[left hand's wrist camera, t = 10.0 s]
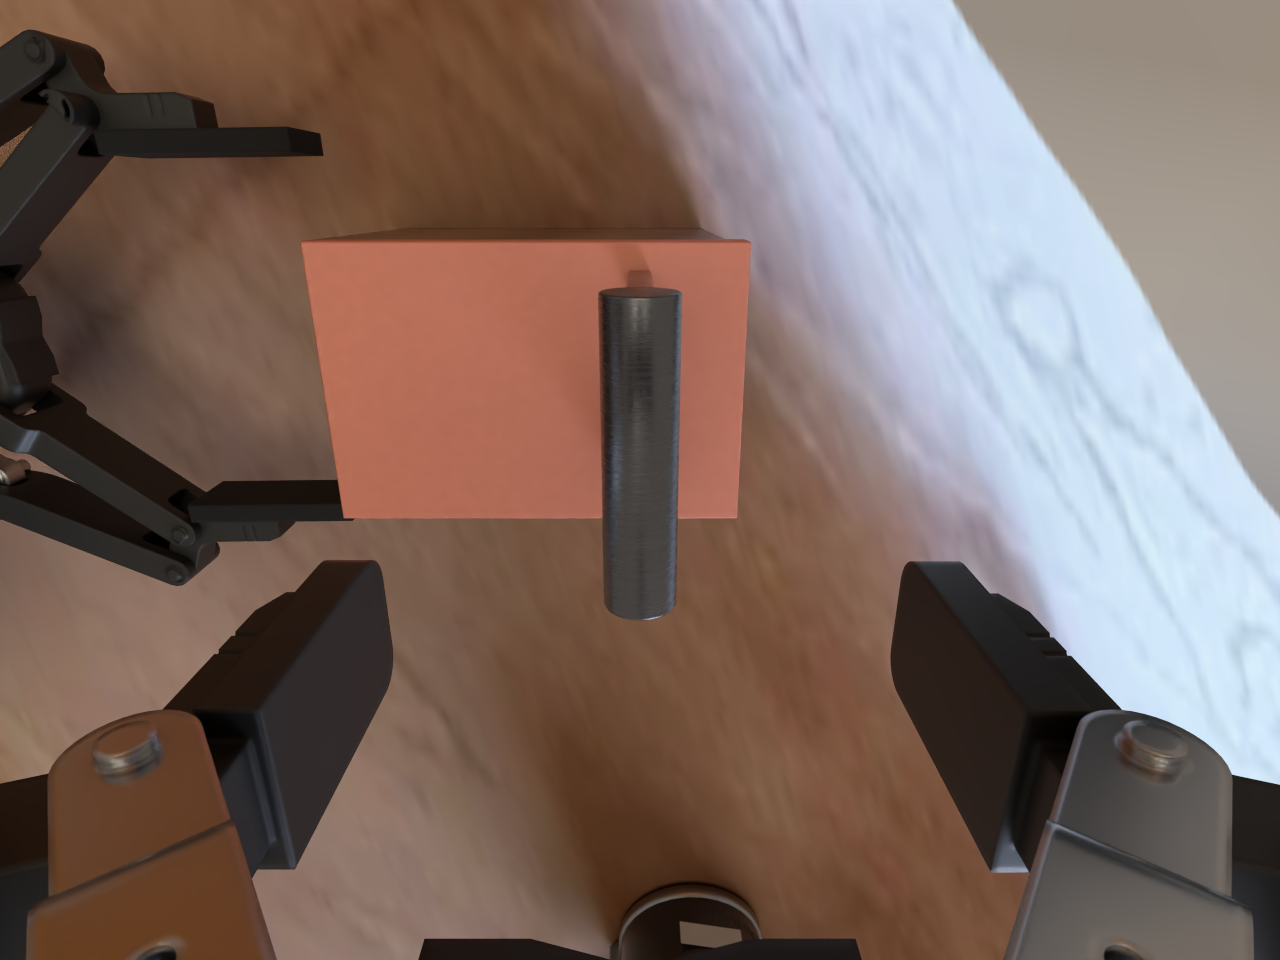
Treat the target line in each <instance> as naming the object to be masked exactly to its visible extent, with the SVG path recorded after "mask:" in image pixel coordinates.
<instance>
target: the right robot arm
mask: <svg viewBox="0 0 1280 960" xmlns="http://www.w3.org/2000/svg"><path fill="white" fill-rule="evenodd" d="M104 71H105V66H104V61H103V59H102V57H101V55H100V54H99V53H98V52H97V50H96V49H94V48H93V47H91V46H89V45H86V44H82V43H79V42H75V41H72V40H68V39H65V38H61V37H57V36H54V35H50V34H47V33H43V32H40V31H36V30H26V31H23V32H21V33H20V34H19V35H17V36H16V37H14V38H13V39H11V40H10V41H9V42H7V43H6V44H4V45H3V46H1V47H0V147H1V146H2V145H4V144H5V143H7V142H8V141H10V140H11V139H13V138H14V137H16V136H17V135H19V134H20V133H22V132H23V131H25V130H26V129H28V128H29V127H31V126H32V125H33V126H32V128H31V129H30V130H29V132H28V133H27V134H26V135H25V137H24V138H23V139H22V141H21V142H20V143H19V144H18V146H17V147H16V148H15V150H14V151H13V152H12V153H11V155H10V156H9V157H8V159H7V160H6V161H5V163H4V164H3V165H2V166H1V168H0V446H1V447H3V448H5V449H7V450H9V451H11V452H15V453H26V454H30V455H32V456H34V457H36V458H37V459H39V460H41V461H42V462H44V463H45V464H47V465H48V466H50V467H52V468H53V469H55V470H56V471H58V472H60V473H61V474H63V475H64V476H66V477H68V478H69V479H71V480H72V481H74V482H76V483H77V484H76V483H73V482H71V481H68V480H66V479H63V478H60V477H58V476H55V475H52V474H48V473H43V472H38V471H31V466H30V464H29V463H28V462H27V461H26V460H23V459H20V460H18V461H15V460H13V459H10V458H7V457H4V456H3V455H1V454H0V519H2V520H4V521H7V522H10V523H12V524H15V525H17V526H20V527H23V528H25V529H28V530H30V531H33V532H36V533H38V534H41V535H43V536H46V537H49V538H51V539H54V540H56V541H59V542H62V543H64V544H67V545H69V546H72V547H75V548H77V549H80V550H82V551H85V552H88V553H90V554H93V555H95V556H98V557H101V558H103V559H106V560H108V561H111V562H114V563H116V564H119V565H121V566H124V567H127V568H129V569H132V570H134V571H137V572H140V573H142V574H145V575H147V576H150V577H153V578H155V579H158V580H160V581H163V582H166V583H168V584H171V585H175V586H180V585H184V584H185V583H187V582H188V581H189V580H190V579H192V578H193V577H194V576H195V575H196V574H197V573H199V572H200V571H201V570H202V569H203V568H205V567H206V566H207V565H208V564H209V563H211V562H212V561H213V560H214V559H215V558H216V557H217V556H218V555H219V553H220V547H219V545H218V543H217V542H228V541H271V540H273V539H276V538H278V537H281V536H282V535H283V534H284V533H285V532H286V531H287V530H288V529H289V528H290V527H291V526H292V525H293V524H294V523H295V521H353V520H354V518H344V517H343V510H342V504H341V498H340V491H339V485H338V480H287V481H223V482H221V483H220V484H218V485H217V486H215V487H214V488H212V489H211V490H209V491H208V492H205V491H203V490H202V489H200V488H198V487H197V486H195V485H194V484H192V483H191V482H189V481H188V480H186V479H185V478H183V477H182V476H180V475H179V474H177V473H175V472H174V471H172V470H171V469H169V468H168V467H166V466H165V465H163V464H162V463H160V462H159V461H157V460H156V459H154V458H152V457H151V456H149V455H148V454H146V453H145V452H143V451H142V450H140V449H139V448H137V447H136V446H134V445H133V444H131V443H130V442H128V441H126V440H125V439H123V438H122V437H120V436H119V435H117V434H116V433H114V432H113V431H111V430H110V429H108V428H107V427H105V426H103V425H102V424H100V423H99V422H97V421H96V420H94V419H93V418H91V417H90V416H89V415H87V413H86V410H87V408H86V406H85V405H84V404H83V403H81V402H80V401H78V400H77V399H75V398H74V397H72V396H71V395H69V394H68V393H66V392H65V391H63V390H62V389H60V388H59V387H57V386H56V385H54V384H53V383H52V376H53V375H56V374H59V372H58V369H57V365H56V362H55V359H54V355H53V354H52V352H51V350H50V348H49V347H48V345H47V343H46V341H45V339H44V338H43V335H42V315H41V312H40V308H39V305H38V302H37V298H36V296H28V295H27V293H26V292H25V290H24V289H23V287H22V286H21V285H20V284H19V282H20V281H21V279H22V278H23V277H24V276H25V275H26V273H27V272H28V271H29V270H30V269H31V267H32V266H33V265H34V264H35V262H36V261H37V260H38V259H39V258H40V256H41V253H42V252H41V251H40V250H39V247H40V245H41V244H42V243H43V242H44V240H45V239H46V238H47V237H48V236H49V234H50V233H51V232H52V231H53V230H54V228H55V227H56V226H57V225H58V223H59V222H60V221H61V220H62V219H63V217H64V216H65V215H66V214H67V212H68V211H69V210H70V209H71V208H72V206H73V205H74V204H75V203H76V202H77V200H78V199H79V198H80V197H81V195H82V194H83V193H84V192H85V191H86V189H87V188H88V187H89V186H90V184H91V183H92V182H93V181H94V180H95V178H96V177H97V176H98V175H99V174H100V172H101V171H102V170H103V169H104V167H105V166H106V165H107V164H108V163H109V161H110V160H111V159H112V158H113V156H114V155H115V156H127V157H139V158H211V157H283V156H323V150H322V143H321V137H320V134H319V133H314V132H310V131H305V130H300V129H295V128H290V127H243V128H218V124H217V119H216V114H215V109H214V104H213V103H210V102H208V101H205V100H203V99H200V98H197V97H193V96H189V95H184V94H180V93H176V92H163V93H117V92H115V91H114V90H113V89H112V88H111V86H110V85H109V83H108V82H107V80H106V78H105V76H104ZM31 408H32V409H34V410H35V411H37V412H35V413H32V414H29V415H25V414H26V413H27V412H28V411H29V410H30V409H31ZM24 415H25V416H24ZM78 484H79V485H78Z"/></svg>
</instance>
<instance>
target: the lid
mask: <svg viewBox="0 0 1280 960" xmlns="http://www.w3.org/2000/svg"><path fill="white" fill-rule="evenodd" d="M301 249H302V255H303V261H304V268H305V274H306V281H307V287H308V293H309V300H310V306H311V313H312V319H313V325H314V332H315V338H316V344H317V351H318V357H319V364H320V370H321V376H322V383H323V389H324V396H325V402H326V408H327V415H328V421H329V427H330V434H331V440H332V447H333V453H334V459H335V466H336V472H337V479H338V485H339V491H340V498H341V504H342V510H343V517H344V518H602V523H603V573H604V604H605V606H606V608H607V609H608V610H609V611H610V612H611V613H612V614H614V615H616V616H618V617H621V618H625V619H630V620H650V619H655V618H659V617H662V616H664V615H666V614H668V613H669V612H670V611H671V610H672V609H673V608H674V606H675V604H676V577H677V527H678V518H736V517H737V507H738V488H739V468H740V449H741V429H742V410H743V390H744V371H745V351H746V332H747V312H748V293H749V273H750V254H751V242H750V241H747V240H744V239H316V240H308V241H302V242H301Z"/></svg>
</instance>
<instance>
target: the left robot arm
mask: <svg viewBox="0 0 1280 960" xmlns="http://www.w3.org/2000/svg"><path fill="white" fill-rule="evenodd" d="M1066 652H1067V651H1066V650H1065V649H1064V648H1063V647H1062V646H1061V645H1060V644H1059V643H1058V642H1057V640H1056V639H1055V638H1050V633H1049V632H1048V631H1047V630H1046V629H1045V628H1044V627H1043V626H1042V625H1041V624H1040V622H1039V621H1038V620H1037V619H1036V618H1035V617H1034V616H1033V615H1032V614H1031V613H1030V612H1029V611H1027V610H1025V609H1024V608H1022V607H1020V606H1019V605H1017V604H1015V603H1013V602H1012V601H1010V600H1008V599H1007V598H1005V597H1003V596H1002V595H1000V594H990V593H989V592H988V591H987V590H986V589H985V588H984V586H983V585H982V584H981V583H980V582H979V581H978V580H977V579H976V577H975V576H974V575H973V574H972V573H971V572H970V571H969V570H968V568H967V567H966V566H965V565H964V564H963V563H961V562H957V561H910V562H908V563H907V564H906V565H905V567H904V569H903V572H902V577H901V583H900V590H899V597H898V604H897V611H896V618H895V625H894V632H893V639H892V646H891V671H892V677H893V682H894V685H895V688H896V691H897V693H898V695H899V697H900V699H901V701H902V703H903V705H904V706H905V708H906V710H907V712H908V714H909V716H910V718H911V720H912V722H913V724H914V726H915V728H916V729H917V731H918V733H919V735H920V737H921V739H922V741H923V743H924V745H925V747H926V749H927V751H928V752H929V754H930V756H931V758H932V760H933V762H934V764H935V766H936V768H937V770H938V772H939V774H940V775H941V777H942V779H943V781H944V783H945V785H946V787H947V789H948V791H949V793H950V795H951V797H952V798H953V800H954V802H955V804H956V806H957V808H958V810H959V812H960V814H961V816H962V818H963V820H964V821H965V823H966V825H967V827H968V829H969V831H970V833H971V835H972V837H973V839H974V841H975V843H976V844H977V846H978V848H979V850H980V852H981V854H982V856H983V858H984V860H985V862H986V864H987V866H988V867H989V869H990V871H991V872H1029V873H1030V875H1029V878H1028V881H1027V884H1026V888H1025V891H1024V894H1023V897H1022V901H1021V904H1020V907H1019V910H1018V914H1017V917H1016V920H1015V923H1014V926H1013V930H1012V933H1011V936H1010V939H1009V943H1008V946H1007V949H1006V952H1005V956H1004V959H1003V960H1280V785H1278V784H1273V783H1268V782H1264V781H1259V780H1254V779H1249V778H1244V777H1240V776H1235V775H1232V774H1231V772H1230V769H1229V767H1228V765H1227V764H1226V763H1225V761H1224V760H1223V758H1222V757H1221V756H1220V755H1219V754H1218V753H1217V752H1216V751H1215V750H1214V749H1213V748H1211V747H1210V746H1209V745H1208V744H1206V743H1205V742H1204V741H1202V740H1201V739H1199V738H1198V737H1196V736H1195V735H1193V734H1192V733H1190V732H1188V731H1186V730H1184V729H1183V728H1180V727H1178V726H1176V725H1174V724H1172V723H1170V722H1167V721H1164V720H1162V719H1159V718H1156V717H1153V716H1149V715H1146V714H1142V713H1137V712H1133V711H1125V710H1122V709H1121V708H1120V707H1119V706H1118V705H1117V704H1116V703H1115V702H1114V701H1113V700H1112V699H1111V698H1110V697H1109V696H1108V694H1107V693H1106V692H1105V691H1104V690H1103V689H1102V688H1101V687H1100V686H1099V685H1098V684H1097V683H1096V682H1095V681H1094V680H1093V679H1092V678H1091V676H1090V675H1089V674H1088V673H1087V672H1086V671H1085V670H1084V669H1083V668H1082V667H1081V666H1080V665H1079V664H1078V663H1077V662H1076V661H1075V660H1074V658H1073V657H1072V656H1067V653H1066ZM392 668H393V646H392V639H391V632H390V625H389V618H388V611H387V604H386V596H385V589H384V582H383V576H382V571H381V568H380V566H379V564H378V563H377V562H376V561H374V560H326V561H323V562H321V563H320V564H319V565H318V567H317V568H316V569H315V570H314V571H313V572H312V573H311V575H310V576H309V577H308V578H307V579H306V580H305V581H304V583H303V584H302V585H301V586H300V587H299V588H298V589H297V590H296V592H286V593H284V594H283V595H281V596H279V597H277V598H276V599H274V600H272V601H271V602H269V603H267V604H265V605H264V606H262V607H260V608H259V609H257V610H255V611H254V612H253V614H252V615H251V616H250V617H249V618H248V619H247V620H246V621H245V622H244V623H243V624H242V625H241V626H240V627H239V628H238V630H237V631H236V634H235V636H231V637H230V638H229V639H228V640H227V641H226V642H225V643H224V644H223V646H222V647H221V648H220V649H219V653H218V654H214V655H213V656H212V657H211V658H210V659H209V660H208V662H207V663H206V664H205V665H204V666H203V667H202V668H201V669H200V670H199V671H198V672H197V673H196V674H195V675H194V677H193V678H192V679H191V680H190V681H189V682H188V683H187V684H186V685H185V686H184V687H183V688H182V689H181V690H180V691H179V693H178V694H177V695H176V696H175V697H174V698H173V699H172V700H171V701H170V702H169V703H168V704H167V705H166V706H165V707H164V709H163V710H155V711H147V712H143V713H138V714H134V715H131V716H127V717H124V718H121V719H118V720H116V721H113V722H110V723H108V724H106V725H104V726H102V727H100V728H97V729H96V730H94V731H92V732H90V733H88V734H87V735H85V736H84V737H82V738H81V739H79V740H78V741H76V742H75V743H74V744H72V745H71V746H70V747H69V748H67V749H66V750H65V751H64V752H63V753H62V754H61V755H60V756H59V757H58V758H57V760H56V761H55V763H54V764H53V765H52V767H51V769H50V772H49V774H45V775H40V776H35V777H30V778H25V779H21V780H16V781H11V782H6V783H2V784H0V960H277V959H276V956H275V952H274V949H273V946H272V943H271V939H270V936H269V933H268V930H267V926H266V923H265V920H264V917H263V914H262V910H261V907H260V904H259V901H258V897H257V894H256V891H255V888H254V884H253V881H252V877H253V876H254V874H255V872H256V870H257V869H295V868H296V866H297V864H298V862H299V860H300V858H301V856H302V854H303V852H304V850H305V848H306V847H307V845H308V843H309V841H310V839H311V837H312V835H313V833H314V831H315V829H316V827H317V825H318V823H319V821H320V819H321V817H322V816H323V814H324V812H325V810H326V808H327V806H328V804H329V802H330V800H331V798H332V796H333V794H334V792H335V790H336V788H337V786H338V784H339V783H340V781H341V779H342V777H343V775H344V773H345V771H346V769H347V767H348V765H349V763H350V761H351V759H352V757H353V755H354V753H355V752H356V750H357V748H358V746H359V744H360V742H361V740H362V738H363V736H364V734H365V732H366V730H367V728H368V726H369V724H370V722H371V720H372V719H373V717H374V715H375V713H376V711H377V709H378V707H379V705H380V703H381V701H382V699H383V697H384V695H385V693H386V691H387V689H388V686H389V683H390V679H391V675H392ZM419 960H609V959H606V958H602V957H598V956H594V955H590V954H587V953H583V952H579V951H575V950H571V949H567V948H564V947H560V946H556V945H552V944H548V943H544V942H541V941H537V940H533V939H424V943H423V946H422V949H421V953H420V956H419ZM610 960H861V956H860V953H859V949H858V946H857V943H856V939H762V937H761V931H760V926H759V922H758V920H757V917H756V915H755V914H754V912H753V911H752V909H751V908H750V907H749V906H748V905H747V904H746V903H745V902H744V901H742V900H741V899H740V898H738V897H737V896H735V895H733V894H731V893H729V892H727V891H724V890H721V889H718V888H715V887H710V886H704V885H679V886H673V887H668V888H664V889H661V890H658V891H656V892H654V893H651V894H649V895H647V896H646V897H644V898H643V899H641V900H640V901H638V902H637V903H636V904H635V905H634V906H633V907H632V908H631V909H630V910H629V911H628V912H627V914H626V915H625V917H624V919H623V921H622V923H621V926H620V931H619V940H618V941H617V942H616V943H614V944H613V945H612V946H611V947H610Z"/></svg>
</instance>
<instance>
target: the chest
mask: <svg viewBox="0 0 1280 960" xmlns="http://www.w3.org/2000/svg"><path fill="white" fill-rule="evenodd" d="M324 239H723V238H721V237H719V236H716V235H714V234H712V233H710V232H708V231H706V230H703V229H702V228H405V229H397V230H389V231H381V232H373V233H365V234H357V235H349V236H341V237H332V238H324Z"/></svg>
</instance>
